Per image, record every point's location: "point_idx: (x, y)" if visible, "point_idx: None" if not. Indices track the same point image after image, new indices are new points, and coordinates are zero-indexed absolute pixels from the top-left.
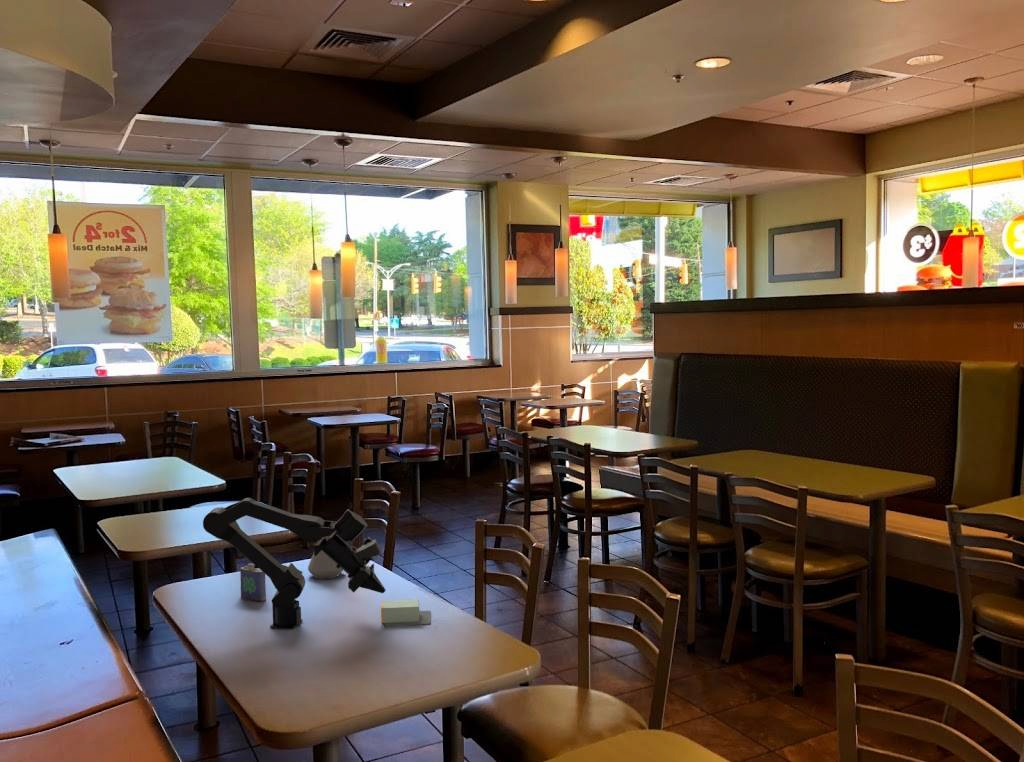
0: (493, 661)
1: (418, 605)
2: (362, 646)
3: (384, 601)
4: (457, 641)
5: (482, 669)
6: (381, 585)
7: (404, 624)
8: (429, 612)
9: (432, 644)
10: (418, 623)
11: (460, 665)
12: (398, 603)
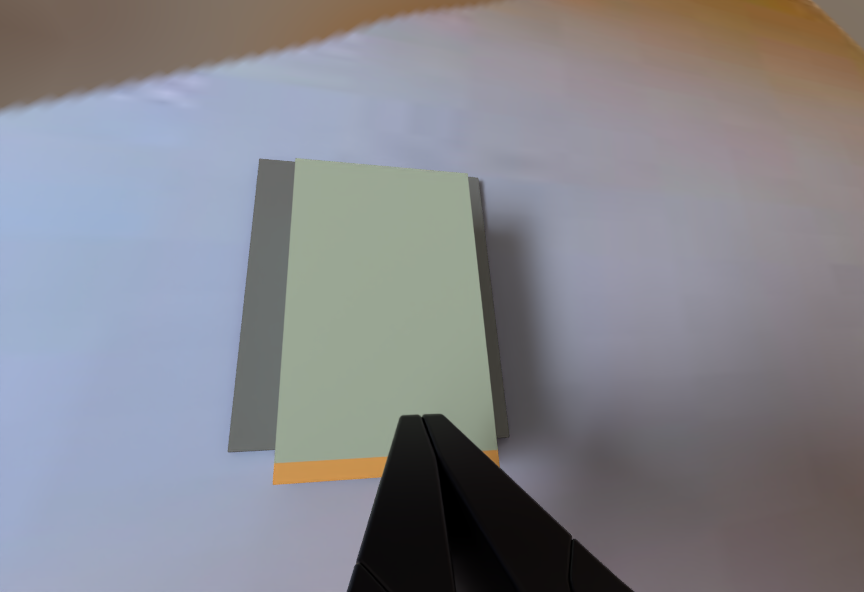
0: (794, 49)
1: (443, 173)
2: (814, 545)
3: (296, 455)
4: (666, 109)
5: (853, 85)
6: (478, 468)
7: (491, 310)
8: (294, 166)
9: (711, 196)
10: (477, 234)
11: (850, 133)
12: (380, 314)
